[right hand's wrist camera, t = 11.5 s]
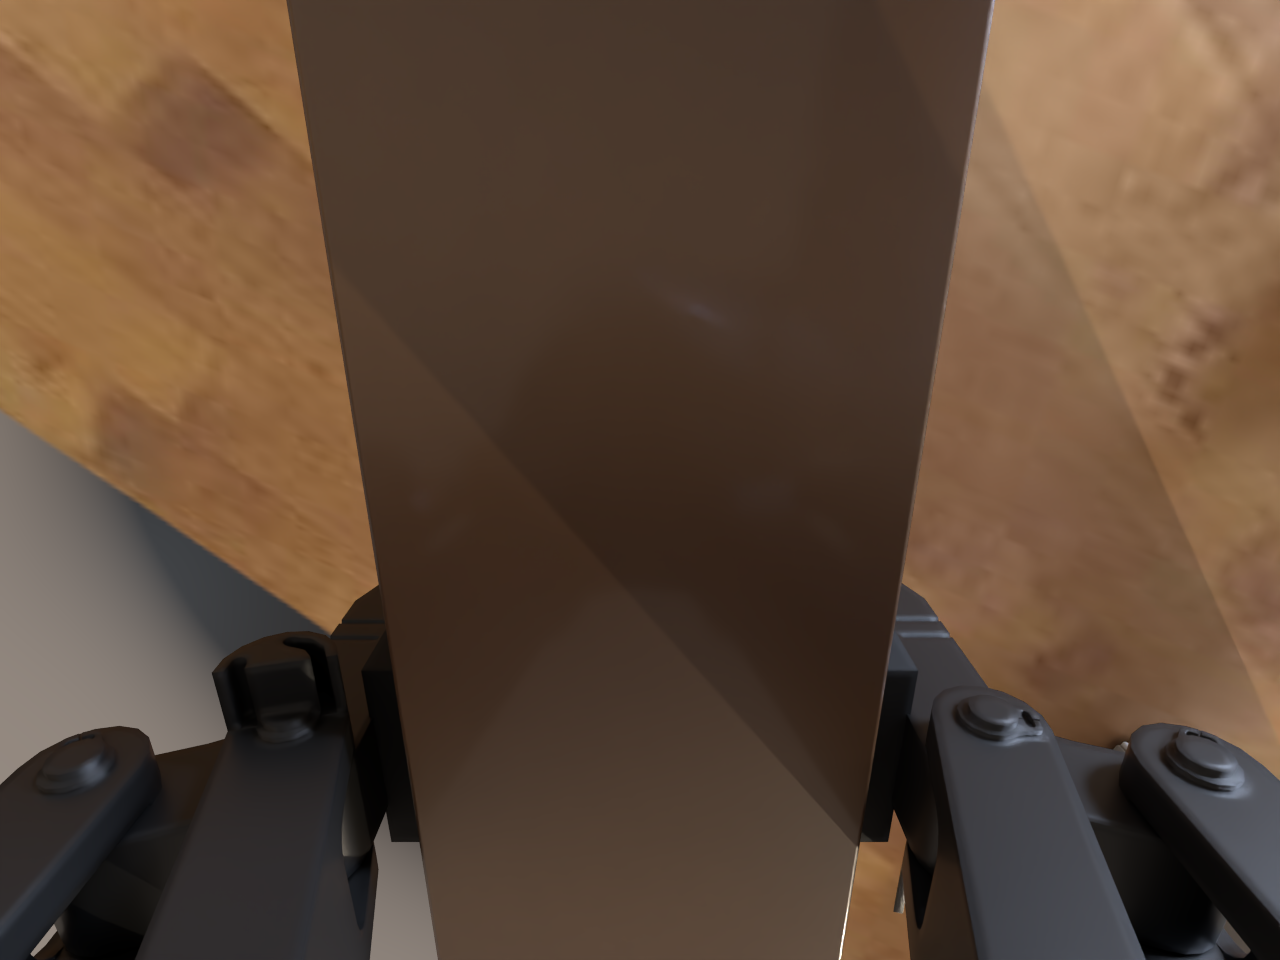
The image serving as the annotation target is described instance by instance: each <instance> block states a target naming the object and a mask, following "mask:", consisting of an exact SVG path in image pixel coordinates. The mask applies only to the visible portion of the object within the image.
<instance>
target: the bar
mask: <svg viewBox="0 0 1280 960" xmlns="http://www.w3.org/2000/svg"><path fill="white" fill-rule="evenodd" d="M994 3H995V0H287V6H288V12H289V19H290V25H291V31H292V38H293V44H294V50H295V57H296V63H297V69H298V76H299V82H300V88H301V95H302V101H303V107H304V114H305V120H306V126H307V133H308V139H309V145H310V152H311V158H312V164H313V171H314V177H315V183H316V190H317V196H318V202H319V209H320V215H321V221H322V228H323V234H324V240H325V247H326V253H327V259H328V266H329V272H330V278H331V285H332V291H333V297H334V304H335V310H336V316H337V323H338V329H339V335H340V342H341V348H342V354H343V361H344V367H345V373H346V380H347V386H348V392H349V399H350V405H351V411H352V418H353V424H354V430H355V437H356V443H357V449H358V456H359V462H360V468H361V475H362V481H363V487H364V494H365V500H366V506H367V513H368V519H369V525H370V532H371V538H372V544H373V550H374V557H375V563H376V569H377V576H378V582H379V588H380V595H381V601H382V607H383V614H384V620H385V626H386V633H387V639H388V645H389V652H390V658H391V664H392V671H393V677H394V683H395V690H396V696H397V702H398V709H399V715H400V721H401V728H402V734H403V740H404V747H405V753H406V759H407V766H408V772H409V778H410V785H411V791H412V797H413V804H414V810H415V816H416V823H417V829H418V835H419V842H420V848H421V854H422V861H423V867H424V873H425V880H426V886H427V892H428V898H429V905H430V911H431V917H432V924H433V930H434V937H435V943H436V949H437V956H438V960H841V957H842V951H843V944H844V938H845V932H846V926H847V919H848V913H849V907H850V901H851V895H852V888H853V882H854V876H855V870H856V863H857V857H858V851H859V845H860V838H861V832H862V826H863V820H864V814H865V807H866V801H867V795H868V789H869V782H870V776H871V770H872V764H873V757H874V751H875V745H876V739H877V733H878V726H879V720H880V714H881V708H882V701H883V695H884V689H885V683H886V676H887V670H888V664H889V658H890V651H891V645H892V639H893V633H894V627H895V620H896V614H897V608H898V602H899V595H900V589H901V583H902V577H903V570H904V564H905V558H906V552H907V546H908V539H909V533H910V527H911V521H912V514H913V508H914V502H915V496H916V489H917V483H918V477H919V471H920V465H921V458H922V452H923V446H924V440H925V433H926V427H927V421H928V415H929V408H930V402H931V396H932V390H933V384H934V377H935V371H936V365H937V359H938V352H939V346H940V340H941V334H942V327H943V321H944V315H945V309H946V303H947V296H948V290H949V284H950V278H951V271H952V265H953V259H954V253H955V246H956V240H957V234H958V228H959V221H960V215H961V209H962V203H963V197H964V190H965V184H966V178H967V172H968V165H969V159H970V153H971V147H972V140H973V134H974V128H975V122H976V116H977V109H978V103H979V97H980V91H981V84H982V78H983V72H984V66H985V59H986V53H987V47H988V41H989V35H990V28H991V22H992V16H993V10H994Z"/></svg>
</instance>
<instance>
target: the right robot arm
mask: <svg viewBox="0 0 1280 960" xmlns="http://www.w3.org/2000/svg"><path fill="white" fill-rule="evenodd" d="M212 675H213V679H214V683H215V686H216V690H217V694H218V697H219V701H220V705H221V708H222V712H223V715H224V719H225V723H226V726H227V730H228V732H227V735H226V737H225V739H223V740H219V741H216V742H212V743H209V744H205V745H200V746H195V747H191V748H187V749H182V750H177V751H172V752H168V753H163V754H159V755H154V752H153V749H152V746H151V742H150V739H149V737H148V736H147V735H145V734H144V733H143V732H142V731H140V730H139V729H136V728H130V727H123V726H116V727H108V728H100V729H94V730H91V731H87V732H83V733H82V734H77V735H74V736H71V737H69V738H66V739H64V740H62V741H61V742H59V743H57V744H55V745H53V746H51V747H49V748H47V749H45V750H43V751H41V752H39V753H38V754H37V755H35V756H34V757H33V758H31V759H30V760H29V761H27V762H26V763H25V764H23V765H22V766H21V767H19V768H18V769H17V770H16V771H15V772H13V773H12V774H11V775H10V776H9V777H8V778H7V779H6V780H5V781H4V782H3V783H2V784H1V785H0V960H370V951H371V940H372V930H373V920H374V909H375V899H376V889H377V879H378V863H377V857H376V851H375V846H374V839H375V837H376V834H377V832H378V829H379V827H380V824H381V822H382V820H383V817H384V815H385V812H386V813H387V819H388V825H389V830H390V836H391V841H392V842H419V835H418V829H417V823H416V816H415V810H414V804H413V797H412V791H411V785H410V778H409V772H408V766H407V759H406V753H405V747H404V740H403V734H402V728H401V721H400V715H399V709H398V702H397V696H396V690H395V683H394V677H393V671H392V664H391V658H390V652H389V645H388V639H387V633H386V626H385V620H384V614H383V607H382V601H381V595H380V588H379V585H378V586H376V587H375V588H374V589H372V590H371V591H369V592H368V593H366V594H365V595H363V596H362V597H360V598H359V599H357V600H356V601H355V602H354V604H353V605H352V606H351V608H350V609H349V611H348V612H347V613H346V615H345V616H344V618H343V619H342V624H339V625H338V626H337V627H336V629H335V630H334V632H333V633H332V634H331V638H328V637H327V636H326V635H323V634H318V633H314V632H310V631H302V632H285V633H281V634H276V635H272V636H267V637H263V638H261V639H259V640H256V641H254V642H251V643H249V644H247V645H244V646H242V647H240V648H239V649H237V650H236V651H234V652H233V653H231V654H230V655H228V656H227V657H225V658H224V659H223V660H222V661H221V662H220V664H219V665H218V666H217V667H216V668H215V670H214V671H213V672H212ZM894 810H895V813H896V815H897V817H898V820H899V822H900V825H901V827H902V829H903V832H904V834H905V837H906V839H907V841H906V846H905V851H904V856H903V862H902V867H901V872H900V877H899V883H898V888H897V893H896V899H895V905H894V912H898V913H902V914H903V909H904V904H905V908H906V918H907V928H908V938H909V949H910V959H911V960H1280V781H1279V780H1278V779H1277V778H1276V777H1275V776H1274V775H1273V774H1272V773H1271V772H1270V771H1269V770H1267V769H1266V768H1265V767H1264V766H1263V765H1262V764H1260V763H1259V762H1258V761H1256V760H1255V759H1254V758H1252V757H1251V756H1250V755H1248V754H1247V753H1246V752H1244V751H1243V750H1242V749H1240V748H1238V747H1236V746H1234V745H1232V744H1230V743H1228V742H1226V741H1224V740H1222V739H1220V738H1218V737H1217V736H1215V735H1212V734H1210V733H1207V732H1204V731H1199V730H1198V729H1194V728H1190V727H1187V726H1181V725H1173V724H1165V723H1157V724H1150V725H1143V726H1141V727H1140V728H1139V729H1137V730H1136V731H1135V732H1134V733H1132V734H1131V737H1130V740H1129V744H1128V747H1127V750H1126V752H1121V751H1117V750H1112V749H1107V748H1103V747H1098V746H1093V745H1089V744H1084V743H1079V742H1075V741H1071V740H1067V739H1064V738H1060V737H1057V736H1054V733H1053V731H1052V729H1051V728H1050V726H1049V725H1048V724H1047V722H1046V721H1045V719H1044V718H1043V716H1042V715H1041V714H1039V713H1038V712H1037V711H1035V710H1034V709H1033V708H1032V707H1030V706H1029V705H1028V704H1026V703H1025V702H1023V701H1021V700H1019V699H1017V698H1015V697H1013V696H1011V695H1009V694H1006V693H1004V692H1002V691H998V690H994V689H990V688H988V687H987V685H986V684H985V682H984V681H983V680H982V678H981V677H980V675H979V674H978V673H977V671H976V670H975V668H974V667H973V666H972V664H971V663H970V662H969V660H968V659H967V657H966V656H965V655H964V653H963V652H962V650H961V649H960V648H959V646H958V645H957V643H956V642H955V641H954V639H953V638H952V637H950V636H949V632H948V631H947V629H946V628H945V627H944V625H943V624H942V622H941V621H938V617H937V615H936V614H935V613H934V611H933V610H932V608H931V607H930V606H929V604H928V603H927V601H926V600H925V599H924V598H923V597H921V596H920V595H918V594H917V593H915V592H914V591H913V590H911V589H910V588H908V587H907V586H905V585H904V584H902V583H901V589H900V595H899V602H898V608H897V614H896V620H895V627H894V633H893V639H892V645H891V651H890V658H889V664H888V670H887V676H886V683H885V689H884V695H883V701H882V708H881V714H880V720H879V726H878V733H877V739H876V745H875V751H874V757H873V764H872V770H871V776H870V782H869V789H868V795H867V801H866V807H865V814H864V820H863V826H862V832H861V838H860V842H888V839H889V833H890V828H891V822H892V816H893V811H894ZM1226 921H1228V922H1229V924H1230V925H1231V926H1232V927H1233V929H1234V930H1235V931H1236V932H1237V934H1238V935H1239V936H1240V937H1241V939H1242V940H1243V941H1244V942H1245V944H1246V945H1247V946H1248V947H1249V949H1250V952H1249V953H1248V954H1246V953H1245V952H1244V951H1243V950H1242V949H1241V948H1240V947H1239V946H1238V945H1237V944H1236V943H1235V942H1234V941H1233V940H1232V938H1231V937H1230V936H1229V935H1228V933H1227V932H1226V931H1225V929H1224V928H1223V927H1224V925H1225V923H1226ZM53 924H55V927H56V929H57V932H56V933H55V934H54V935H53V937H52V938H51V939H50V941H49V942H48V943H47V944H46V946H45V947H43V948H42V949H41V950H40V951H39V952H38V953H37V954H36V955H35V956H34V957H33V956H32V955H31V954H30V953H31V952H32V951H33V949H34V948H35V947H36V946H37V944H38V943H39V942H40V941H41V939H42V938H43V937H44V936H45V934H46V933H47V932H48V931H49V929H50V928H51V927H52V926H53Z"/></svg>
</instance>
